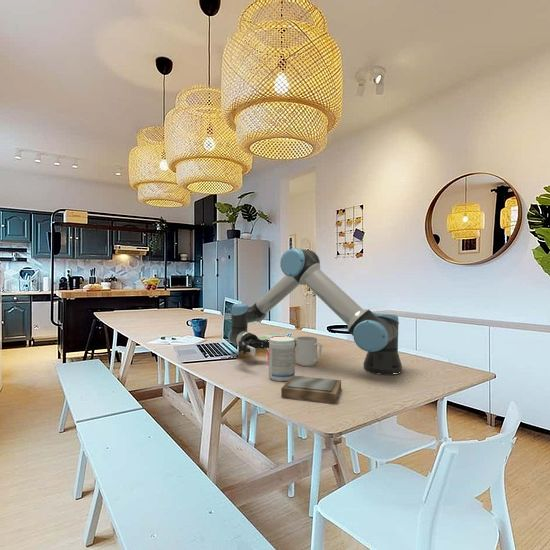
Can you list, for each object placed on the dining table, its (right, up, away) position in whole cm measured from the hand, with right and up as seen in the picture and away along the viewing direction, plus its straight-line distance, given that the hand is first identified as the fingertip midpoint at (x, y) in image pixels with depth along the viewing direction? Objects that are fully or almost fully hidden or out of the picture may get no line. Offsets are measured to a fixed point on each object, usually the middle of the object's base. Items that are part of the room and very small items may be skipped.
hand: (270, 350), depth 146 cm
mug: (+17, -9, +13) cm, 23 cm away
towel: (+2, -9, +52) cm, 53 cm away
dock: (+14, -9, -24) cm, 29 cm away
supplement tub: (+4, -9, -8) cm, 13 cm away
